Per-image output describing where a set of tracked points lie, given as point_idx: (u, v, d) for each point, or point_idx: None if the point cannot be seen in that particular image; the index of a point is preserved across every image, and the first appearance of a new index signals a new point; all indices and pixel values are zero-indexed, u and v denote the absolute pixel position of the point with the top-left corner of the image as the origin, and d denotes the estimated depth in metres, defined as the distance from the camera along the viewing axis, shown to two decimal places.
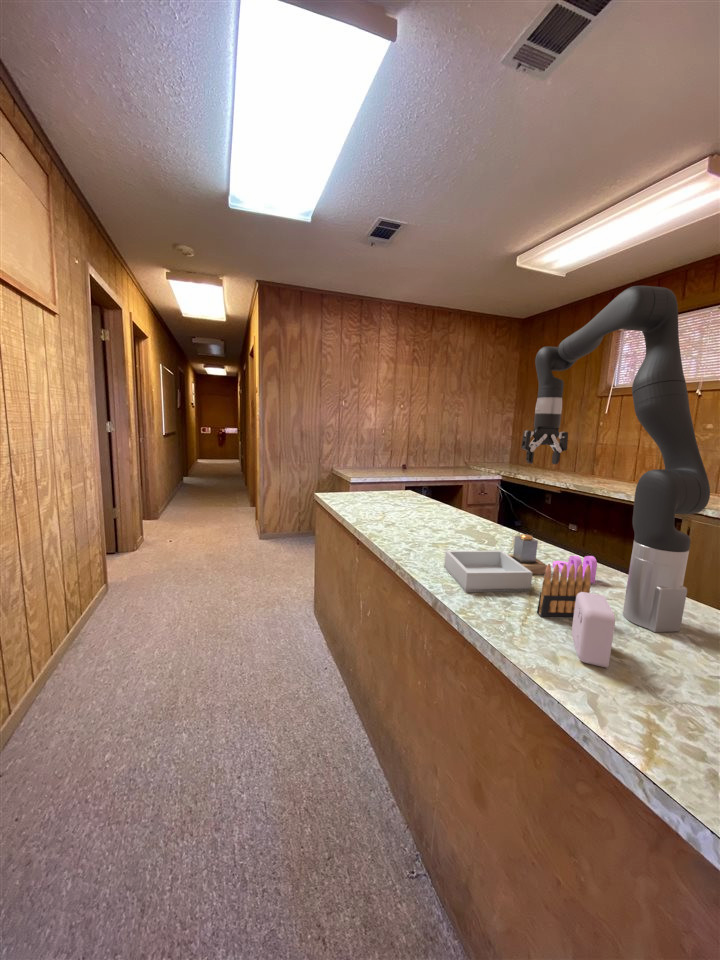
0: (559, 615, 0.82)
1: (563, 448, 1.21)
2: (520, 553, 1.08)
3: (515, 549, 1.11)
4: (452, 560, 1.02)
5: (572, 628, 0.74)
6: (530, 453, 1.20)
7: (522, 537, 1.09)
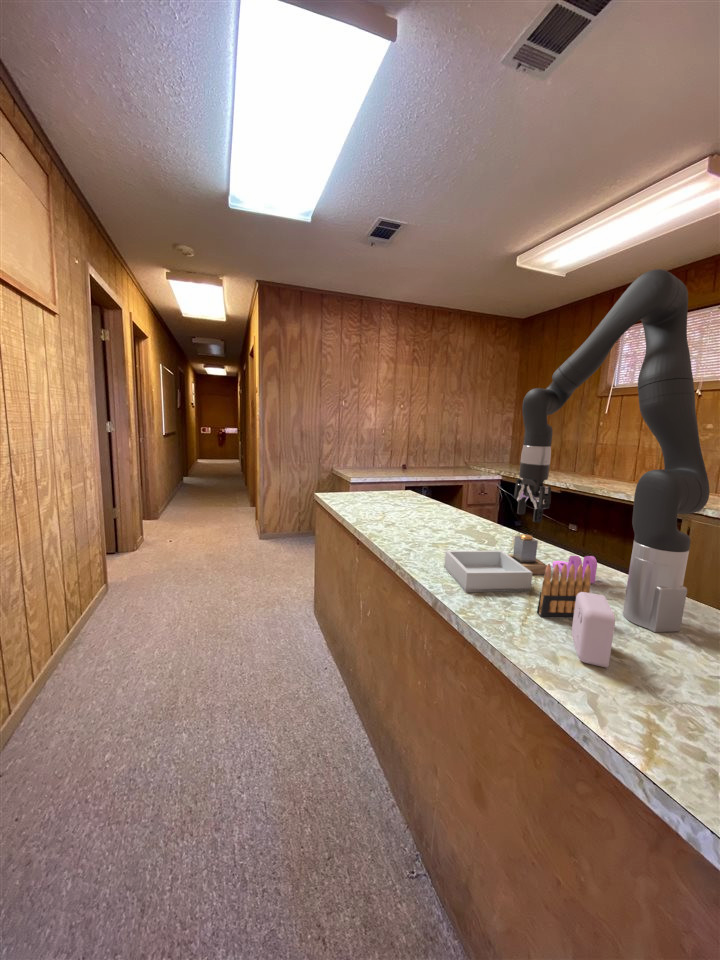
0: (559, 615, 0.82)
1: None
2: (520, 553, 1.08)
3: (515, 549, 1.11)
4: (452, 560, 1.02)
5: (572, 628, 0.74)
6: None
7: (522, 537, 1.09)
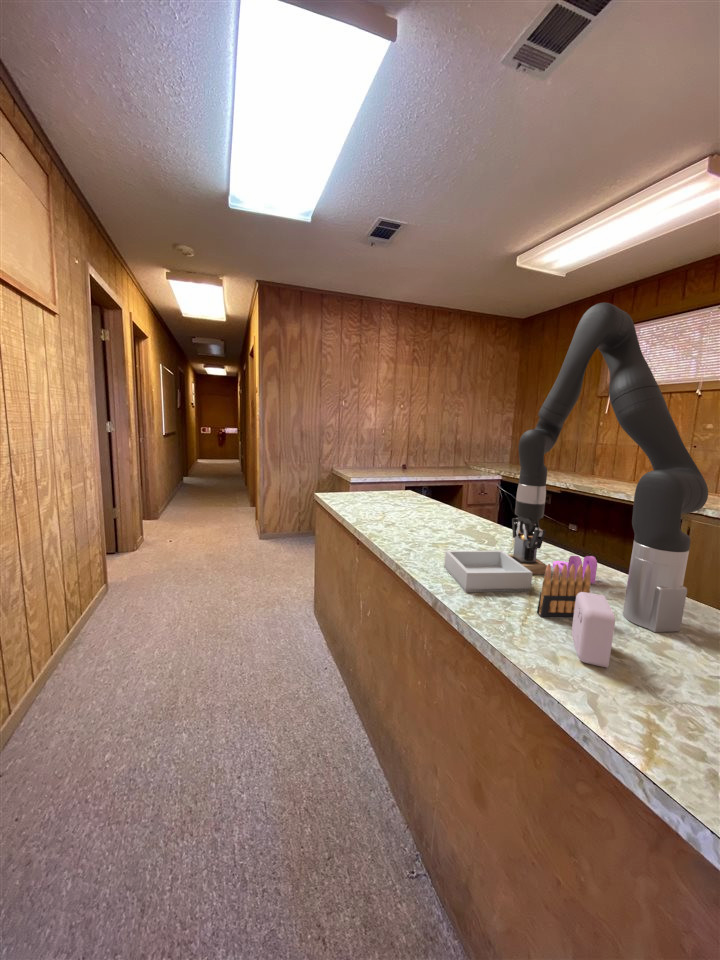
0: (559, 615, 0.82)
1: None
2: (520, 553, 1.08)
3: (515, 549, 1.11)
4: (452, 560, 1.02)
5: (572, 628, 0.74)
6: None
7: (522, 537, 1.09)
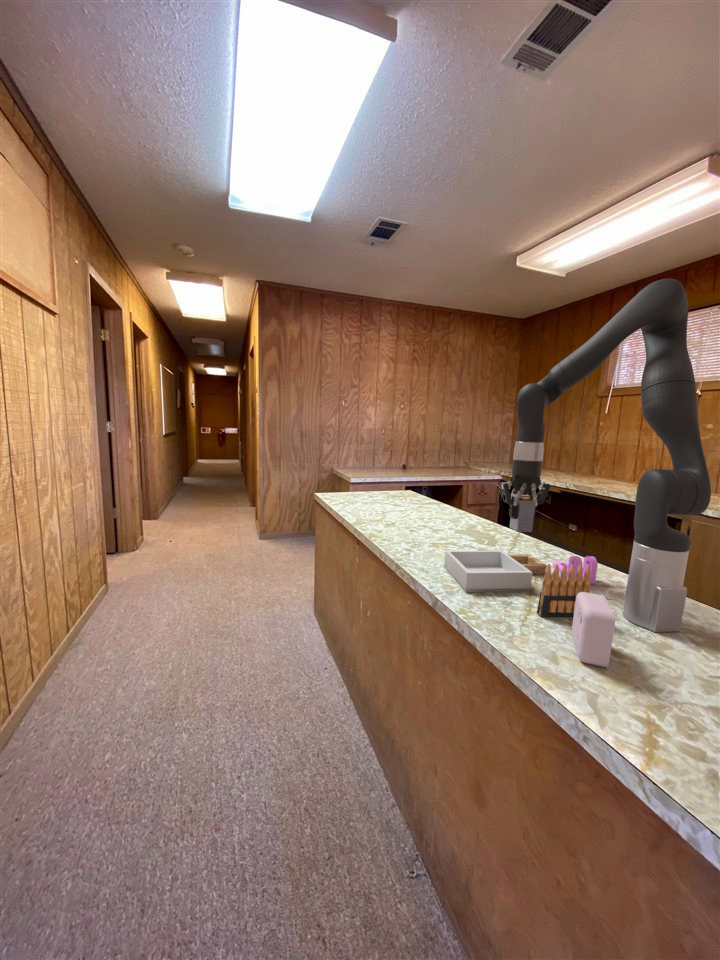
0: (559, 615, 0.82)
1: None
2: (531, 514, 1.05)
3: (522, 513, 1.05)
4: (452, 560, 1.02)
5: (572, 628, 0.74)
6: None
7: (528, 498, 1.05)
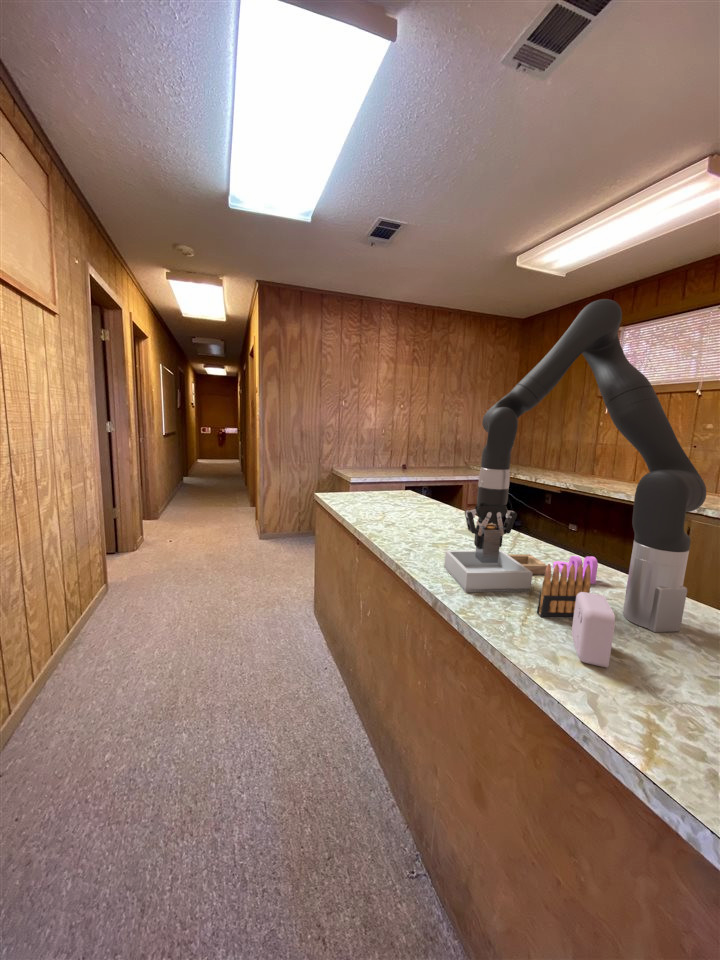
0: (559, 615, 0.82)
1: None
2: (497, 544, 0.99)
3: (487, 543, 0.99)
4: (452, 560, 1.02)
5: (572, 628, 0.74)
6: None
7: (493, 527, 0.99)
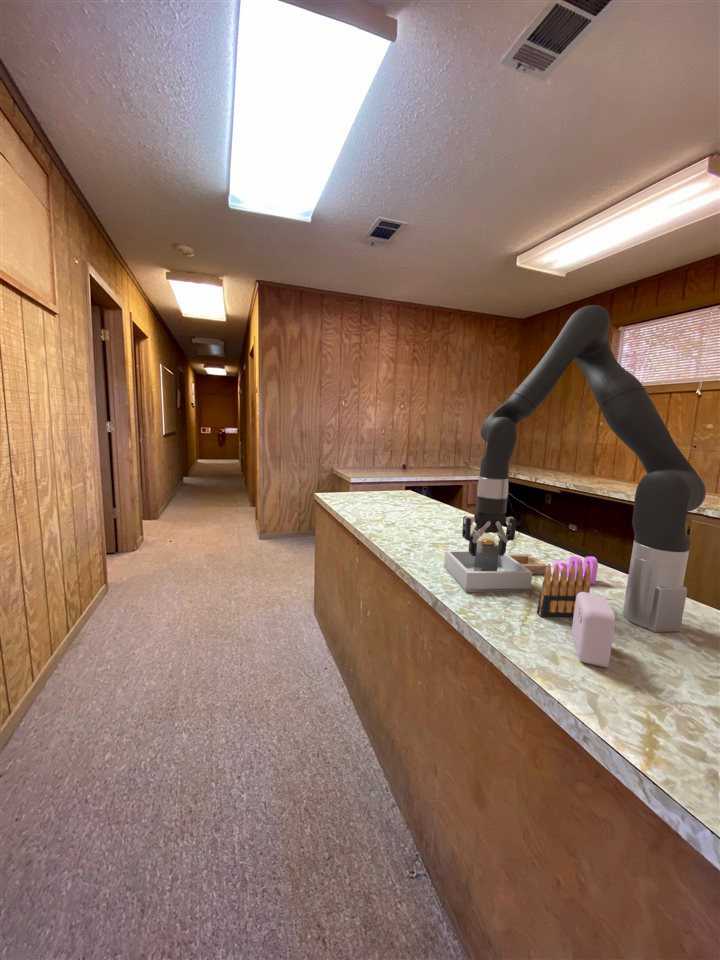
0: (559, 615, 0.82)
1: None
2: (495, 560, 0.99)
3: (485, 560, 0.99)
4: (452, 560, 1.02)
5: (572, 628, 0.74)
6: None
7: (492, 543, 0.99)
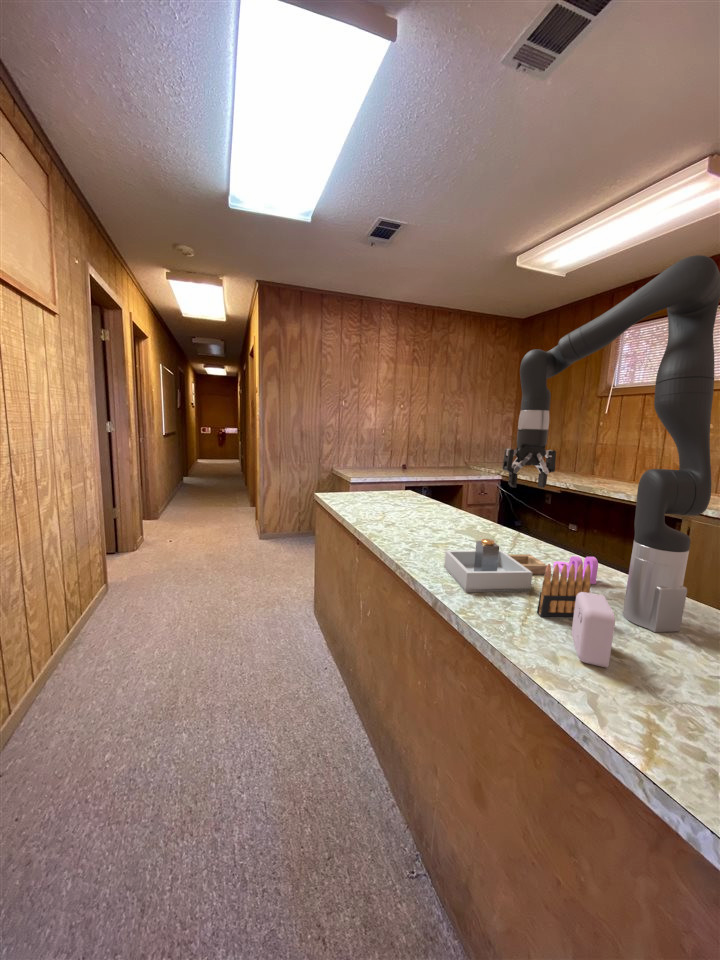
0: (559, 615, 0.82)
1: None
2: (495, 560, 0.99)
3: (485, 560, 0.99)
4: (452, 560, 1.02)
5: (572, 628, 0.74)
6: None
7: (492, 543, 0.99)
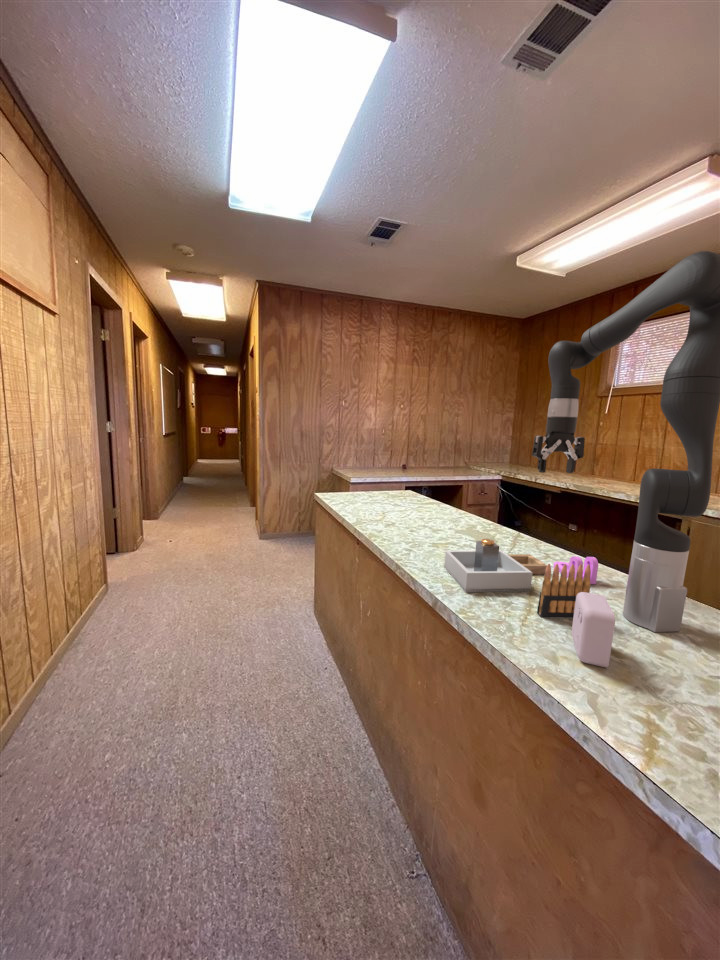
0: (559, 615, 0.82)
1: None
2: (495, 560, 0.99)
3: (485, 560, 0.99)
4: (452, 560, 1.02)
5: (572, 628, 0.74)
6: None
7: (492, 543, 0.99)
